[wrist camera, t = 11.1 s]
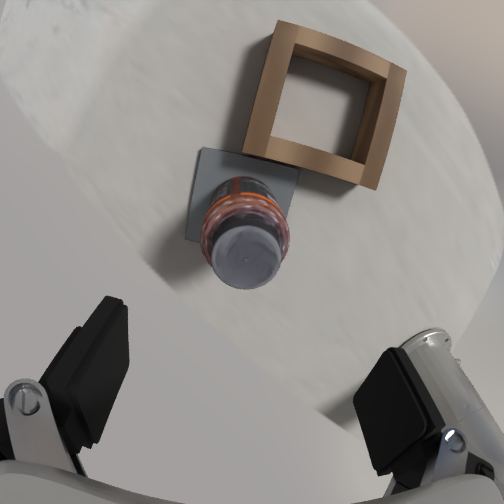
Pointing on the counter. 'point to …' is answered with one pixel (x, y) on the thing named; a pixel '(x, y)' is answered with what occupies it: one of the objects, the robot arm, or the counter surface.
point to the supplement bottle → (244, 233)
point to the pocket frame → (374, 116)
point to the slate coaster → (232, 165)
